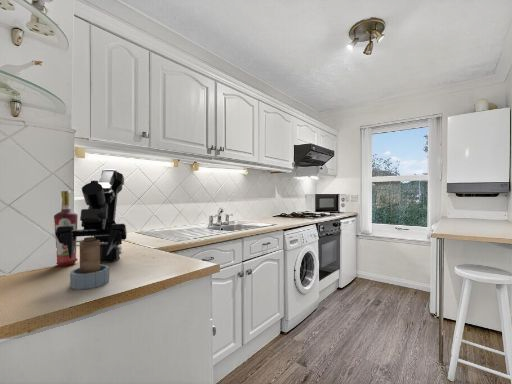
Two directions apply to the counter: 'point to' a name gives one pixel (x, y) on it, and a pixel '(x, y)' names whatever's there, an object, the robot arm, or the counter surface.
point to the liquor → (65, 219)
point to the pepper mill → (89, 255)
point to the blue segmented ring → (89, 278)
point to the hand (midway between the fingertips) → (88, 256)
